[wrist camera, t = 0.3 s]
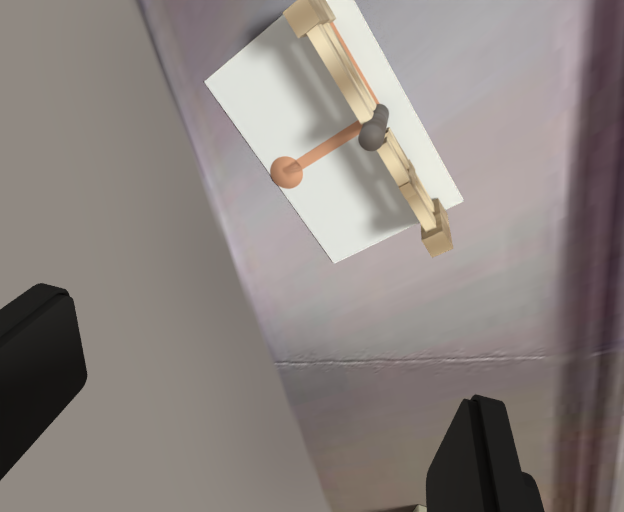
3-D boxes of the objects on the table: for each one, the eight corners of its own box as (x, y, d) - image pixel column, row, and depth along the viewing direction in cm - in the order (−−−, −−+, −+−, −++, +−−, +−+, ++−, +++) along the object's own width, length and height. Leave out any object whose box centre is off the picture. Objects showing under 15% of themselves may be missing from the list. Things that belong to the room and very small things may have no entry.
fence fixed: (305, 12, 37) (278, 12, 29) (324, -4, 36) (301, -7, 29) (374, 128, 41) (366, 155, 33) (392, 117, 40) (388, 142, 32)
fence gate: (376, 132, 41) (369, 155, 34) (394, 121, 40) (391, 142, 33) (429, 222, 44) (432, 257, 38) (446, 213, 43) (453, 248, 37)
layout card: (204, 82, 42) (203, 82, 42) (337, -31, 35) (336, -31, 35) (333, 263, 50) (333, 264, 49) (463, 200, 43) (464, 201, 42)
